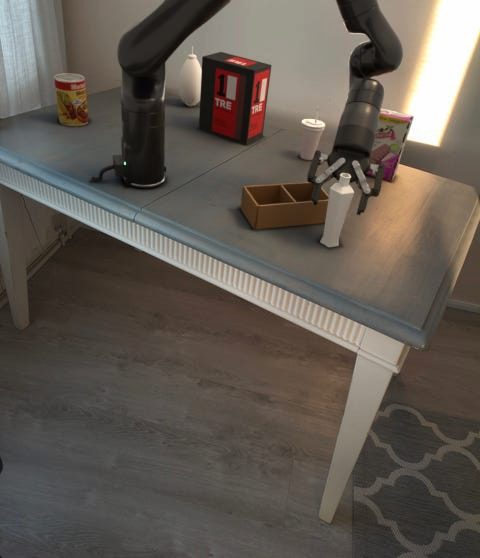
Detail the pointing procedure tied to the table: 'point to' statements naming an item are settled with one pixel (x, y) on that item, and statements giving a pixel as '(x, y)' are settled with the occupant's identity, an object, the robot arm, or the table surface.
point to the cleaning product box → (233, 97)
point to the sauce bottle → (190, 81)
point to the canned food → (71, 99)
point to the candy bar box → (390, 141)
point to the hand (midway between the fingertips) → (336, 208)
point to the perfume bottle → (337, 210)
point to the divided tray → (283, 205)
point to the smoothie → (310, 136)
